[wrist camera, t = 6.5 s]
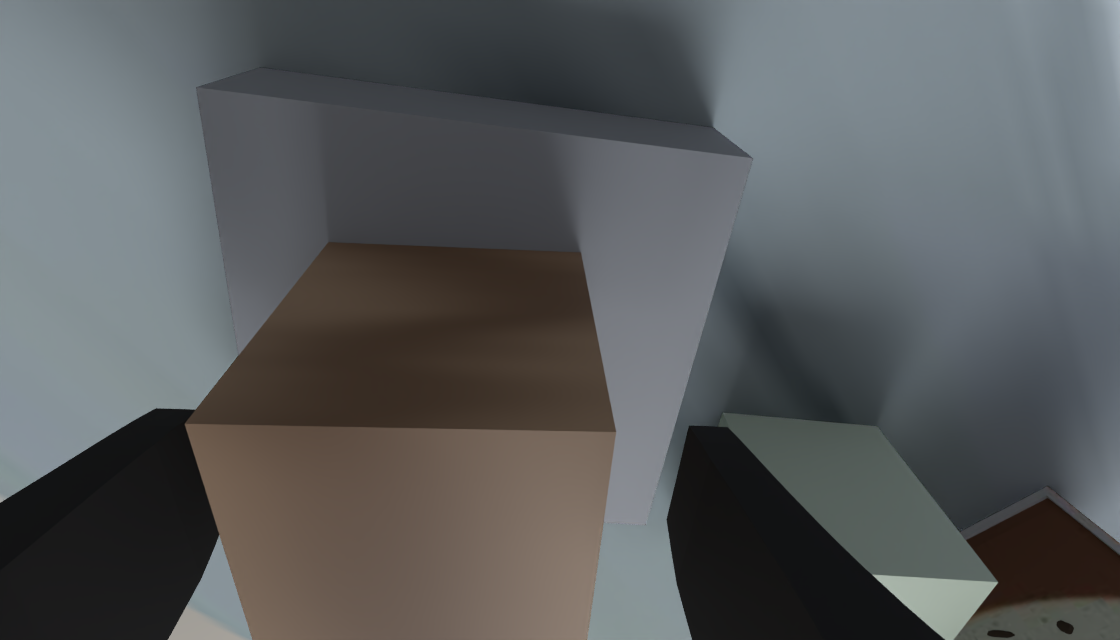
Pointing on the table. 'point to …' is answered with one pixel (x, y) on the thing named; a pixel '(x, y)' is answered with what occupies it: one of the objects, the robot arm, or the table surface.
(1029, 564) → the food container
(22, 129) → the table surface
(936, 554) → the sage block
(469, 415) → the walnut block
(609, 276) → the base block
